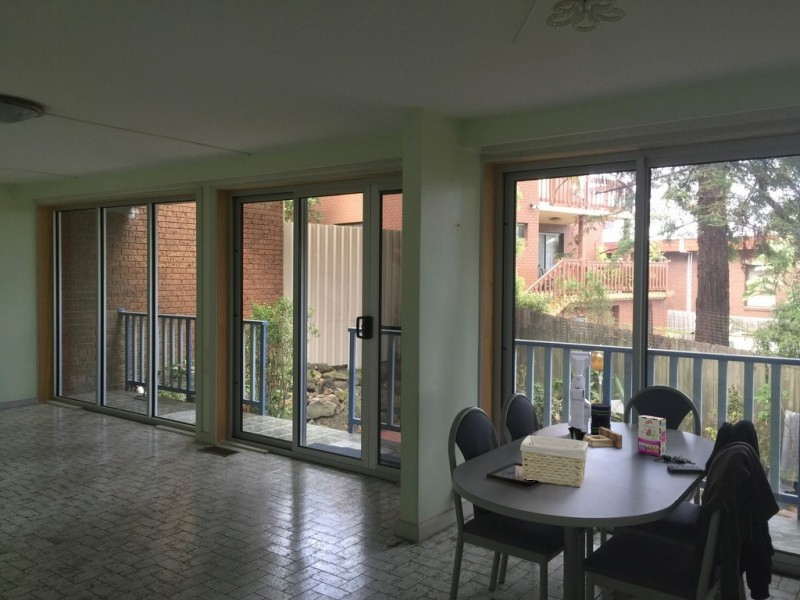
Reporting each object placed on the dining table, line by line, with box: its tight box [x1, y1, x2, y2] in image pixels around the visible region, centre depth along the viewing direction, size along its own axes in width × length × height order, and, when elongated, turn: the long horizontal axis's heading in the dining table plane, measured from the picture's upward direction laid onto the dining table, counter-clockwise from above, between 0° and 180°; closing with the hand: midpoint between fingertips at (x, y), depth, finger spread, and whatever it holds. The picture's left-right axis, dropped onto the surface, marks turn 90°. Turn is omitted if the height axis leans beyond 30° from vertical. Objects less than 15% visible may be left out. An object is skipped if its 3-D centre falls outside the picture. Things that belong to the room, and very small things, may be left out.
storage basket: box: [519, 434, 589, 488], centre depth 243 cm, size 24×16×15 cm
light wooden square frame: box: [583, 434, 614, 448], centre depth 299 cm, size 10×10×3 cm
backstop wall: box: [599, 427, 623, 449], centre depth 300 cm, size 18×2×6 cm, turn 11°
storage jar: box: [589, 402, 612, 435], centre depth 319 cm, size 10×10×15 cm
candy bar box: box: [637, 414, 667, 457], centre depth 282 cm, size 11×5×16 cm, turn 37°
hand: (576, 444), depth 289 cm, fingers closed on dowel, 3 cm apart
